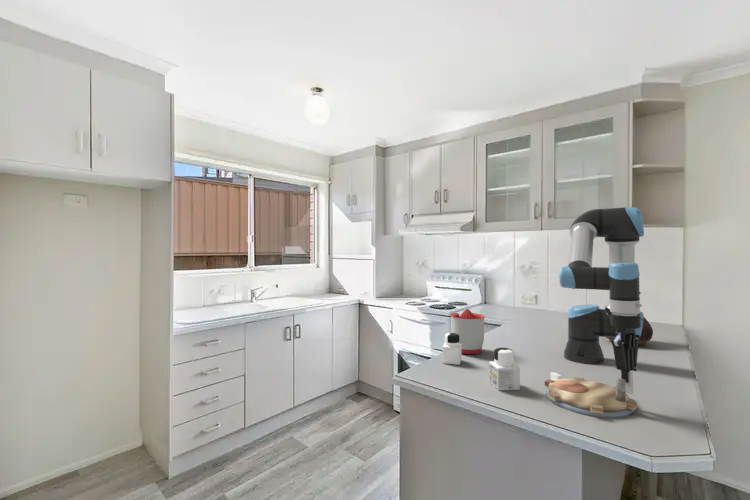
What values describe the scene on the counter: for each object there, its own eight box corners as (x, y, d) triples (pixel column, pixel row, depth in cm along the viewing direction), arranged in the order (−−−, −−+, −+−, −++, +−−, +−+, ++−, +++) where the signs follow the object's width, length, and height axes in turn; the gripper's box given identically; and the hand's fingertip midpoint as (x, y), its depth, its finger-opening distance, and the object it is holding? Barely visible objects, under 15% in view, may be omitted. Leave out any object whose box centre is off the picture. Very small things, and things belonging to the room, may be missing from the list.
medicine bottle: (461, 360, 155) (461, 332, 155) (459, 365, 148) (459, 336, 148) (444, 358, 157) (444, 331, 157) (442, 363, 151) (442, 334, 151)
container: (489, 382, 129) (488, 346, 129) (509, 381, 130) (509, 345, 130) (498, 390, 121) (498, 352, 121) (520, 390, 122) (520, 351, 122)
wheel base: (521, 382, 129) (521, 374, 129) (582, 378, 133) (582, 370, 133) (580, 420, 100) (580, 409, 100) (655, 414, 104) (655, 404, 104)
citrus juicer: (477, 345, 179) (477, 305, 179) (489, 356, 161) (489, 311, 161) (446, 346, 178) (446, 305, 178) (455, 356, 161) (454, 311, 161)
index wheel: (646, 398, 112) (646, 373, 112) (623, 422, 96) (622, 393, 96) (561, 376, 131) (560, 355, 131) (530, 393, 116) (530, 369, 116)
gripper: (628, 317, 102) (631, 401, 102) (649, 313, 109) (651, 391, 108) (600, 314, 108) (603, 393, 108) (621, 310, 115) (623, 384, 115)
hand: (627, 392), depth 108 cm, fingers closed
